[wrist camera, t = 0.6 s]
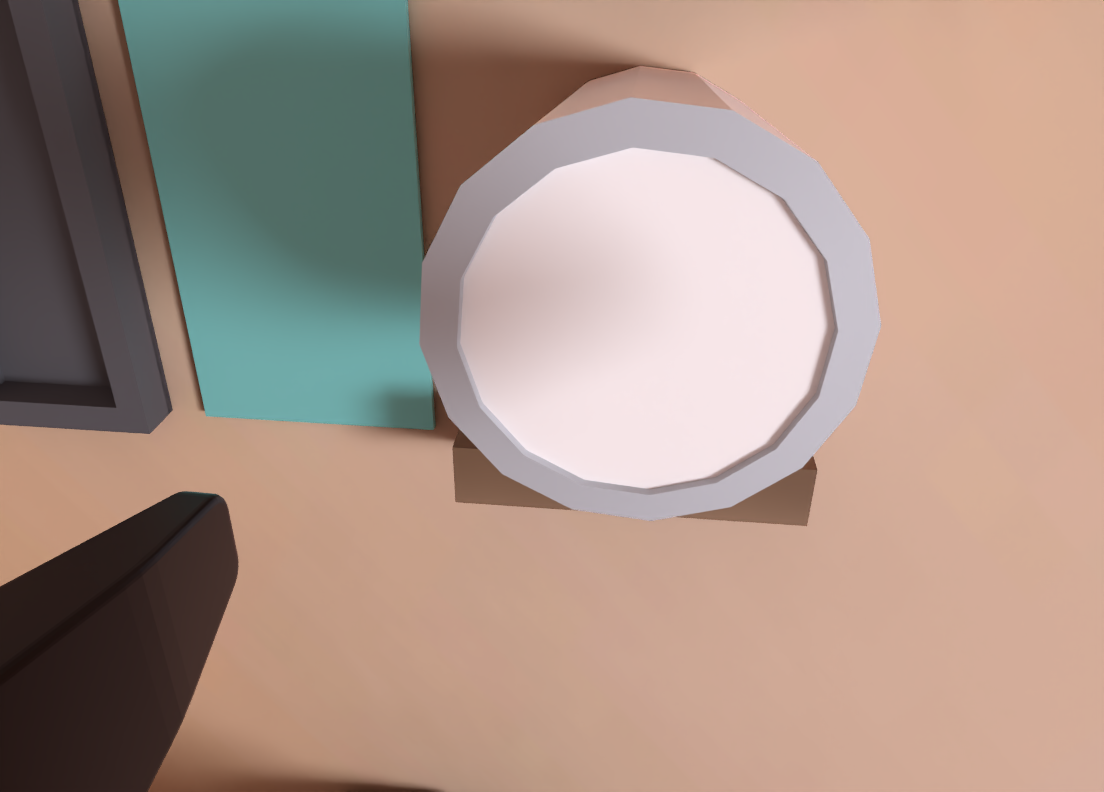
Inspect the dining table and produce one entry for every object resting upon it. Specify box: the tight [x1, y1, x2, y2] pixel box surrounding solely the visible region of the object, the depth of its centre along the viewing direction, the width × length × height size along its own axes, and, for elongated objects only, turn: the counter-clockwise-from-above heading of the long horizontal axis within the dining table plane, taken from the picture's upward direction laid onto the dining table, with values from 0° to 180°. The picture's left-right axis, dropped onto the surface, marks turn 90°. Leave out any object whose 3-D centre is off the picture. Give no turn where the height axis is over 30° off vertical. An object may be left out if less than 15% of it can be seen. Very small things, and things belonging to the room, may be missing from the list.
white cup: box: [419, 66, 881, 521], centre depth 16 cm, size 7×7×7 cm
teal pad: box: [118, 0, 435, 430], centre depth 20 cm, size 12×6×1 cm, turn 0°
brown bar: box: [453, 429, 817, 526], centre depth 18 cm, size 13×8×2 cm, turn 0°
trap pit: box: [0, 0, 173, 434], centre depth 20 cm, size 12×5×1 cm, turn 0°
